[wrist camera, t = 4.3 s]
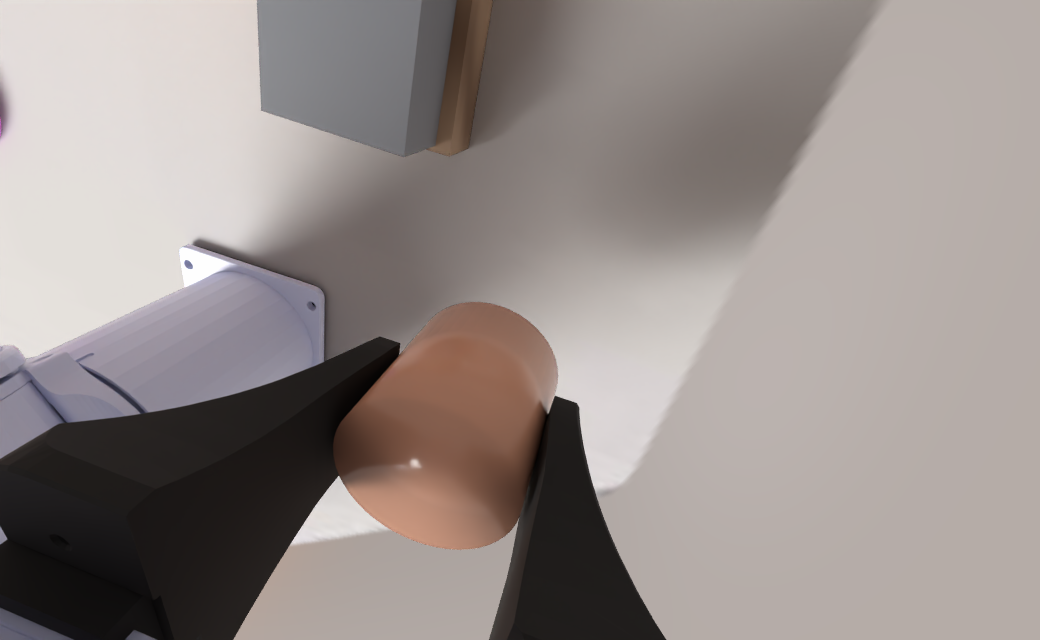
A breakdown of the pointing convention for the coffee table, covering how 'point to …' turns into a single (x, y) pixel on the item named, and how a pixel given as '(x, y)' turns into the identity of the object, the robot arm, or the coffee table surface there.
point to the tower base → (462, 75)
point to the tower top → (357, 67)
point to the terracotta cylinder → (452, 428)
